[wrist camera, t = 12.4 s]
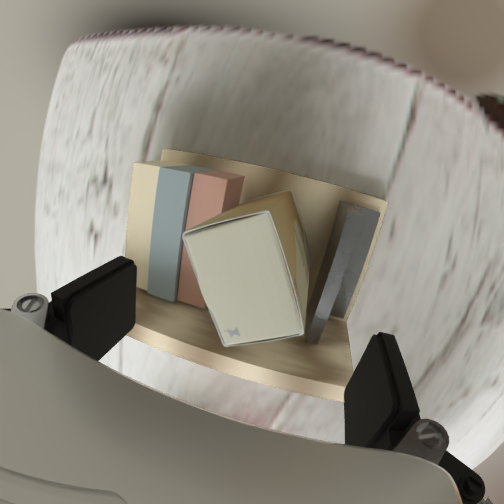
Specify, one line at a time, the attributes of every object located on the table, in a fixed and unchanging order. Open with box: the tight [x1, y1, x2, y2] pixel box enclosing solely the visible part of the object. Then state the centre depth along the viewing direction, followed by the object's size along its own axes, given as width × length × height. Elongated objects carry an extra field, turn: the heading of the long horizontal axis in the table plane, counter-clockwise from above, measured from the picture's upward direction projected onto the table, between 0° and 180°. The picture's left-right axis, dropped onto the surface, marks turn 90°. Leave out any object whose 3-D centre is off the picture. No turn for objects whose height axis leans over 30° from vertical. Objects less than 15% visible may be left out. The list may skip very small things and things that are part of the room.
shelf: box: [126, 149, 388, 402], centre depth 21 cm, size 20×13×10 cm, turn 78°
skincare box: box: [182, 189, 311, 347], centre depth 18 cm, size 6×4×12 cm
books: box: [125, 161, 245, 309], centre depth 23 cm, size 7×10×6 cm
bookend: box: [305, 200, 381, 345], centre depth 21 cm, size 4×10×6 cm, turn 168°
